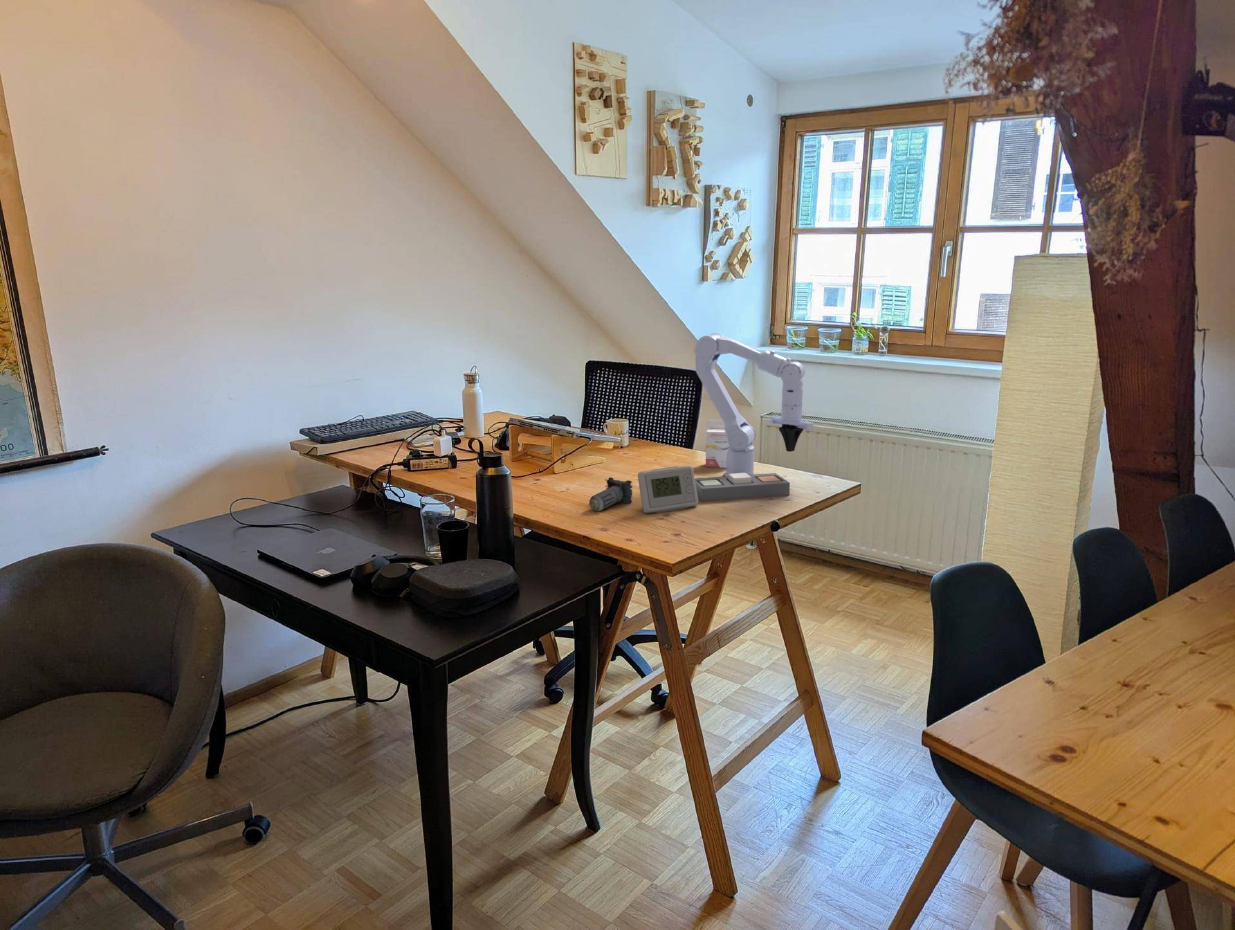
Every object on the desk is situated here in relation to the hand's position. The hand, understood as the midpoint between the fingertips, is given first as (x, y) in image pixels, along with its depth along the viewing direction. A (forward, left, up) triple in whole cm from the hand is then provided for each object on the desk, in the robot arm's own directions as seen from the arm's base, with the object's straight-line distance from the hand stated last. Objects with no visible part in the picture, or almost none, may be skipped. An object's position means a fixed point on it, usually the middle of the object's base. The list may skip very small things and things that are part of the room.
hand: (790, 450), depth 229 cm
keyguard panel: (+7, -18, -9) cm, 21 cm away
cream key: (+7, -17, -6) cm, 20 cm away
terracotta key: (+7, -9, -8) cm, 14 cm away
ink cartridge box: (-24, -14, -10) cm, 29 cm away
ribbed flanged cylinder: (+11, -55, -10) cm, 57 cm away
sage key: (+7, -26, -8) cm, 28 cm away
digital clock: (+17, -40, -10) cm, 45 cm away
